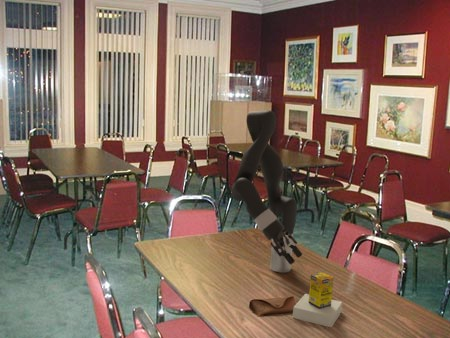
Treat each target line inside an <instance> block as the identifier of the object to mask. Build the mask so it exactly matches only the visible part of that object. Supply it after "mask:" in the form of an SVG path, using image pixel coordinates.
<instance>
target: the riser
mask: <svg viewBox="0 0 450 338" xmlns="http://www.w3.org/2000/svg"><path fill="white" fill-rule="evenodd" d="M342 309H343V301H340V300H334V299H332V301H331V306H328V307H324V308H321V309H319V308H317V307H315V306H313V305H311V304H310V303H309V293H308V294H307V293H305V294H304V295H303V296H302V297H301V298H300V299H299V300H298V302H296V305H295V306H294V307H293V313H292V319H296V320H300V321H303V322H304V321H305V322H308V323H312V324H316V325H321V326H325V327H327V328H328V327H329V328H332V327H333V326H334V324H335V322H336V321H337V320H338V318H339V317H340V315H341V314H342V312H343V311H342ZM340 313H341V314H340Z"/></svg>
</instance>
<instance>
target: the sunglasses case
mask: <svg viewBox="0 0 450 338" xmlns="http://www.w3.org/2000/svg"><path fill="white" fill-rule="evenodd" d="M296 304H297V302H296V300H295V298H294V296H287V297H272V298H262V299H261V298H259V299H258V298H253V299H251V300H250V301H249V307H248V308H249V310H251V311H252V313H254V315H255V316H257V317H259V318H260V317H263V316H272V315H283V314H284V315H285V314H293V307H294V306H295V305H296Z"/></svg>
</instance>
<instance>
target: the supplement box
mask: <svg viewBox="0 0 450 338" xmlns="http://www.w3.org/2000/svg"><path fill="white" fill-rule="evenodd" d="M333 288H334V276H332V275H329V274H327V273H325V272H318V273H314V274H310V281H309V293H308V294H309V303H310V304H311V305H313V306H315V307H317V308H319V309H321V308H324V307H328V306H331V301H332V300H333V299H332V298H333V290H334V289H333Z"/></svg>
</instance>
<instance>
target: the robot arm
mask: <svg viewBox="0 0 450 338" xmlns="http://www.w3.org/2000/svg"><path fill="white" fill-rule="evenodd" d="M276 124H277V117H276V114H275V112H274V111H273V110H268V109H267V110H265V109H264V110H252V111H249V112H248V113H247V115H246V127H247V130H248V134H249V135H250V138H251V141H252V143H251V144H250V145H249V147H248V148H247V149H246V150H245V151H244V153H243V154H242V157H241V161H240V164H239V167H238V171H237V174H236V176H235V179H234V181H233V183H232V186H231V189H230V194H231V197H232V199H233V200H235V201H236V202H244V203H245V204H246V205H245V206H246V212H247V213H248V214H249V216H250V218H252V220H253V221H254V223H255V224H256V226H257V227H258V229H259V230H260V231H261V233H262V234H263V235H264V236H265V237H266V239H267V240H268V241H271V242H270V243H269V244H270V245H271V251H270V252H271V253H270V264H269V265H270V266H269V268H270V270H271V271H273V272H276V273H281V274H282V273H289V272H291V270H292V264H294V263H295V261H296V260H295V258H294V257H293V254H294V255H295V256H296V257H297V258H298V259H299V258H300V257H301V256H303V253H302V250H300V249H299V247H298V245H297V244H298V241H297V240H296V239H295V237H294V231H295V227H296V221H297V213H298V203H297V201H296V199H295V198H292V197H289V196H284V195H282V193H281V190H280V184H281V181H282V179H283V176H284V172H285V171H284V166H283V165H284V164H283V162H282V158H281V156H280V154H279V153H278V151H276V149H275V148H274V147H272V145H270V140H271V138H272V135H273V134H274V131H275V130H276V126H277V125H276ZM259 167H260V170H261V174H262V176H263V180H264V185H265V189H266V193H267V199H268V204H269V205H268V206H269V207H268V206H267V204H266V203H265V202H264V201H263V200H262V198H261V195H260V193H259V191H258V190H257V188H256V186H255V185H254V183H253V180H254V179H255V177H256V175H257V172H258V170H259ZM277 217H279V218H281V219H282V220H281V221H280V220H279V219H278V218H277Z"/></svg>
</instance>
